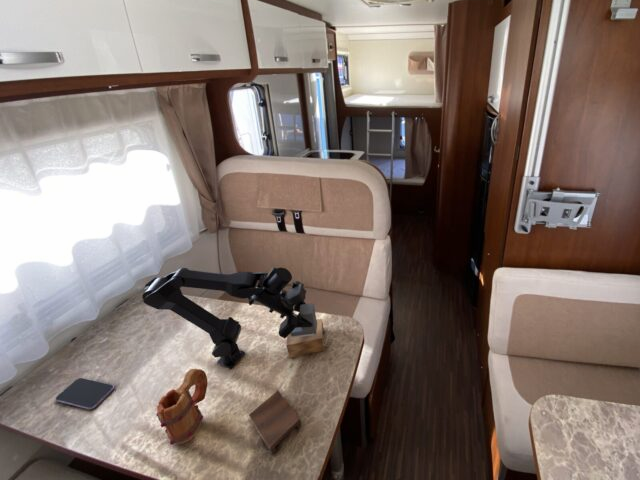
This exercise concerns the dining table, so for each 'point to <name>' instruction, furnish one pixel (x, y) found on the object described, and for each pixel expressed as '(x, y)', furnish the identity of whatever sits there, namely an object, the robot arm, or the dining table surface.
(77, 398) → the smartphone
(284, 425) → the small wooden stand
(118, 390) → the dining table surface
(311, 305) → the grey upright block
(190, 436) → the mug
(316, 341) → the light wood block
